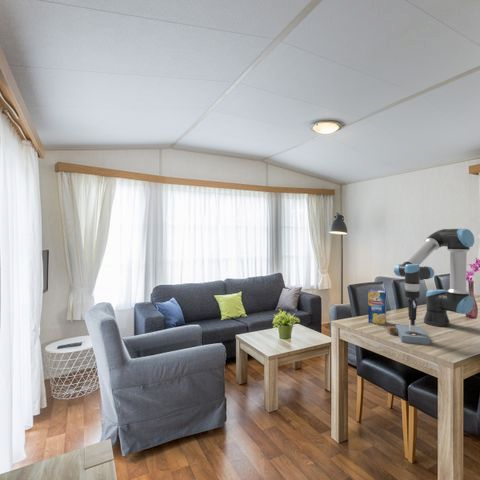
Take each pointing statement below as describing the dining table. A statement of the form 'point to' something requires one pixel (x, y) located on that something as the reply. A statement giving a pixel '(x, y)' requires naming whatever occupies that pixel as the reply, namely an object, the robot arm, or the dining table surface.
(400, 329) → the gray slab with hole
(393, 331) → the walnut block
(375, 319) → the blue food box
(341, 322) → the dining table surface
